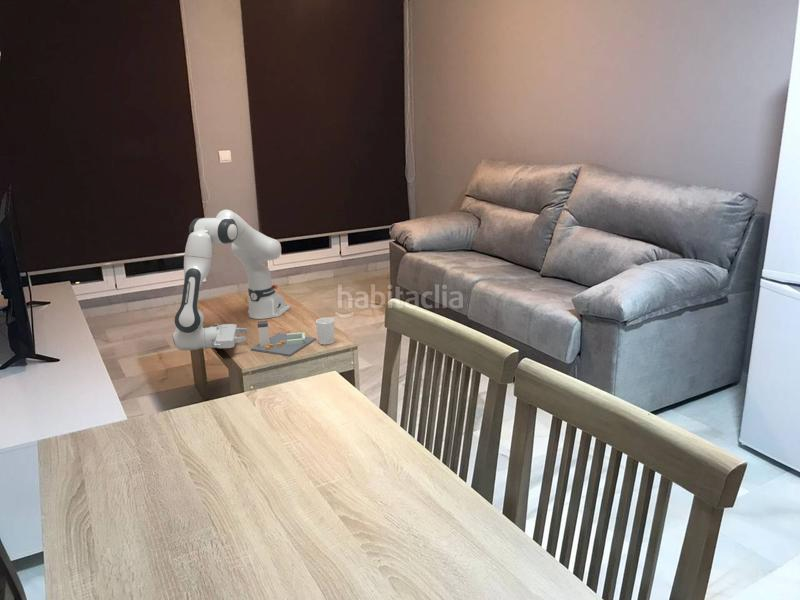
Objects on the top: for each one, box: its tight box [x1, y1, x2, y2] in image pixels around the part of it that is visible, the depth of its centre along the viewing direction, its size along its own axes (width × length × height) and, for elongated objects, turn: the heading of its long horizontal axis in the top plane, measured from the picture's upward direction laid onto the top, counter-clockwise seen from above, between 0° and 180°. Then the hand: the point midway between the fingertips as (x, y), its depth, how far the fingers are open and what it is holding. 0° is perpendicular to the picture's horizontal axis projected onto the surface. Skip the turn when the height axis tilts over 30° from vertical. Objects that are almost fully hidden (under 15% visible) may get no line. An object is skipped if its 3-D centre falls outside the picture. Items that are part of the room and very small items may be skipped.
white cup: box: [315, 317, 335, 345], centre depth 282 cm, size 8×8×10 cm
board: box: [250, 332, 317, 357], centre depth 282 cm, size 20×20×2 cm
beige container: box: [257, 320, 270, 347], centre depth 280 cm, size 4×4×10 cm
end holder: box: [286, 331, 306, 345], centre depth 284 cm, size 8×9×2 cm
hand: (246, 334), depth 279 cm, fingers open, 8 cm apart
